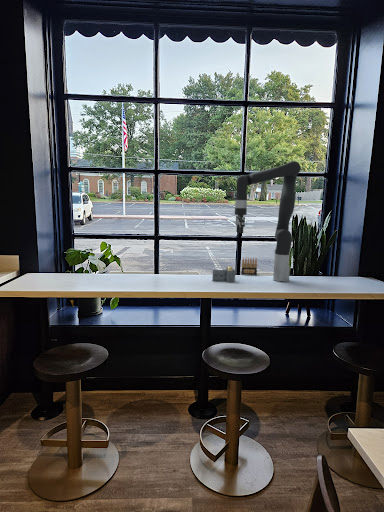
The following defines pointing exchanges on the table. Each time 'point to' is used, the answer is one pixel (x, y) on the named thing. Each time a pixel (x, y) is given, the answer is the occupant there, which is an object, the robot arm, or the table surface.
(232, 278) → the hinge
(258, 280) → the table surface
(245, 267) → the ammunition clip
